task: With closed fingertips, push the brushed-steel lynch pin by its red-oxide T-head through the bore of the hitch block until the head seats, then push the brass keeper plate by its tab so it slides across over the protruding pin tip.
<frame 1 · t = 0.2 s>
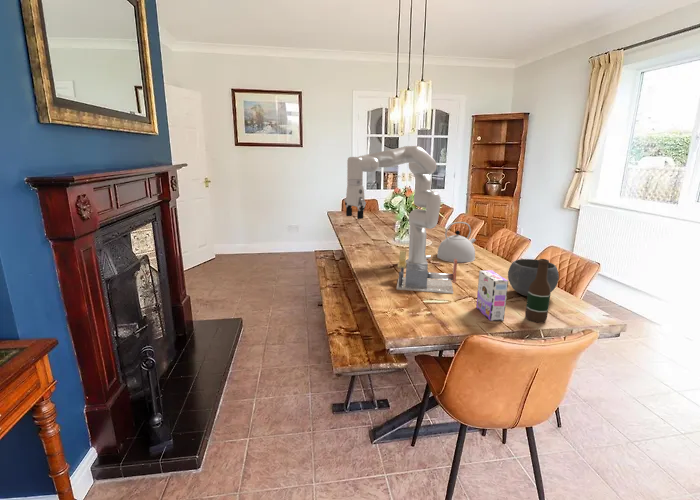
hand: (354, 217, 188), 31 cm above the table, fingers open, 9 cm apart
kettle: (457, 257, 234), on the table
keeper plate: (402, 259, 187), point 11 cm above the table, slide at 0.0 cm
lynch pin: (438, 270, 179), point 8 cm above the table, slide at 0.0 cm
candy box: (489, 314, 151), on the table
bowl: (530, 295, 171), on the table
beer bottle: (535, 319, 146), on the table
hitch block: (416, 285, 183), on the table
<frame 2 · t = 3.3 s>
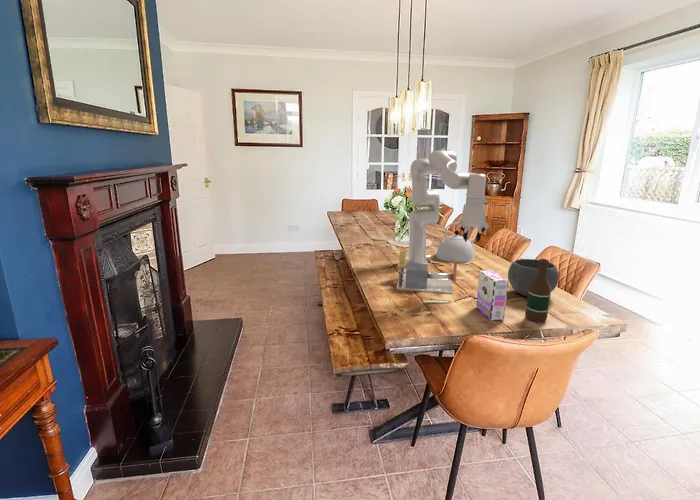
hand: (471, 241, 173), 23 cm above the table, fingers open, 4 cm apart
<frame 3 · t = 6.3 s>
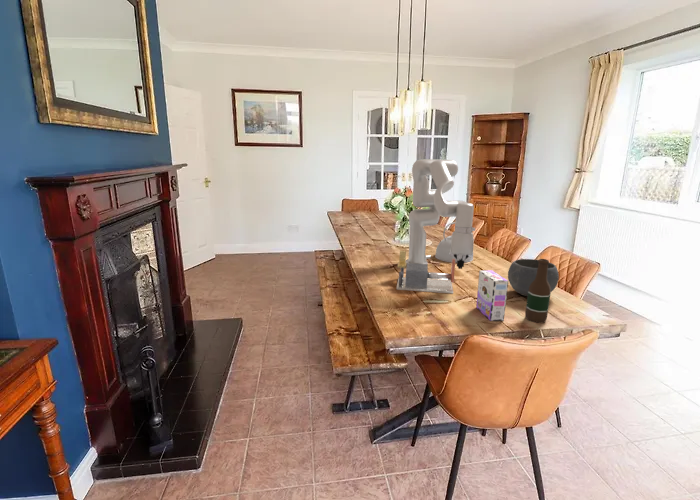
hand: (460, 268, 177), 10 cm above the table, fingers closed
lynch pin: (436, 269, 179), point 8 cm above the table, slide at 0.9 cm, touching gripper
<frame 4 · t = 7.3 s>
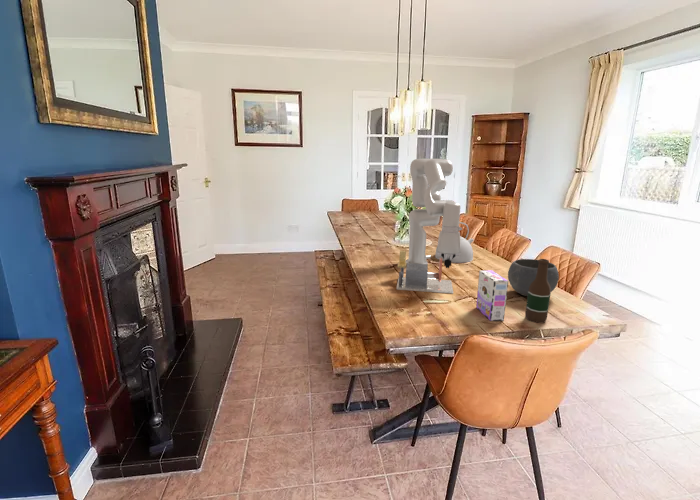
hand: (447, 267, 178), 10 cm above the table, fingers closed
lynch pin: (424, 269, 180), point 8 cm above the table, slide at 6.7 cm, touching gripper
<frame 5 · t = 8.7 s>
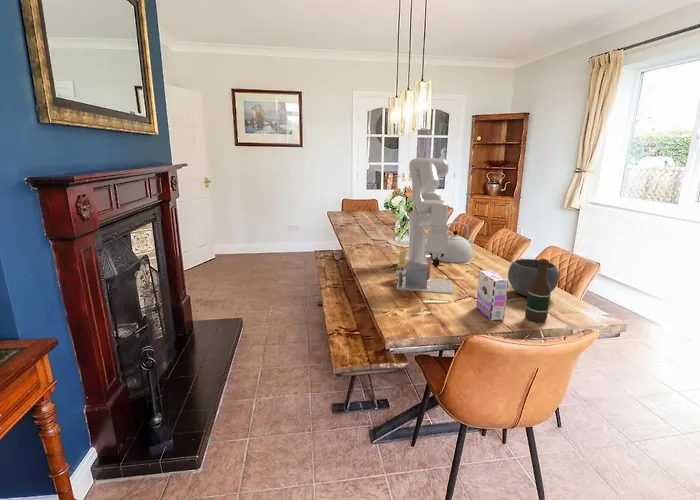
hand: (435, 266, 179), 10 cm above the table, fingers closed
lynch pin: (413, 268, 181), point 8 cm above the table, slide at 12.0 cm, touching gripper, hitch block
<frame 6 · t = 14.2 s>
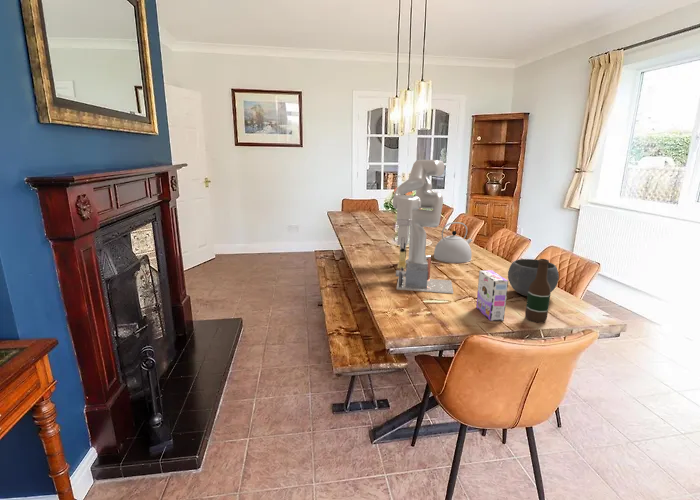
hand: (402, 257, 191), 11 cm above the table, fingers closed
keeper plate: (402, 259, 186), point 11 cm above the table, slide at 1.0 cm, touching gripper
lynch pin: (413, 268, 181), point 8 cm above the table, slide at 12.0 cm, touching hitch block
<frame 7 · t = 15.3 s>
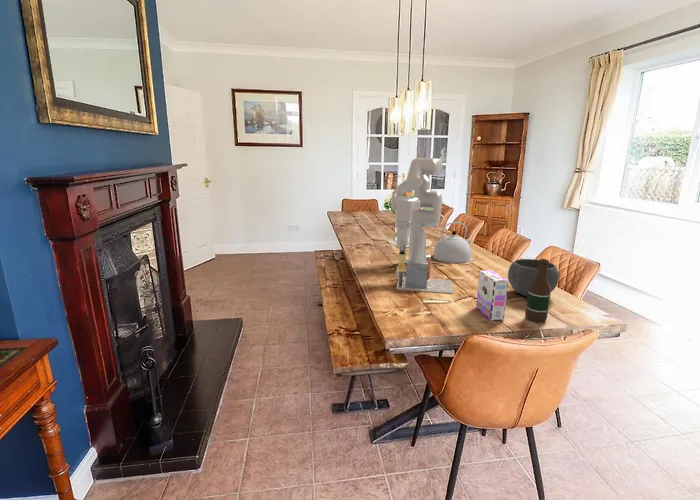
hand: (402, 260, 186), 11 cm above the table, fingers closed
keeper plate: (401, 262, 181), point 11 cm above the table, slide at 6.1 cm, touching gripper
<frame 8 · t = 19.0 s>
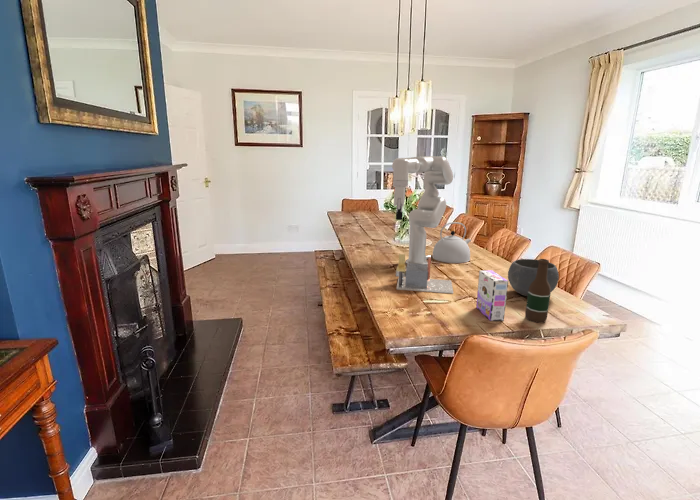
hand: (399, 219, 195), 29 cm above the table, fingers closed
keeper plate: (401, 262, 181), point 11 cm above the table, slide at 6.0 cm
at the end: lynch pin slide at 12.0 cm; keeper plate slide at 6.0 cm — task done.
